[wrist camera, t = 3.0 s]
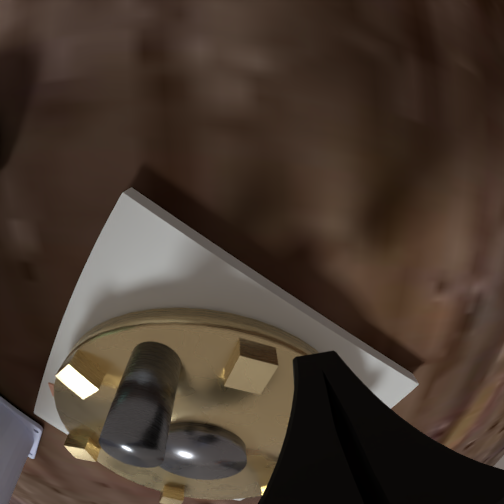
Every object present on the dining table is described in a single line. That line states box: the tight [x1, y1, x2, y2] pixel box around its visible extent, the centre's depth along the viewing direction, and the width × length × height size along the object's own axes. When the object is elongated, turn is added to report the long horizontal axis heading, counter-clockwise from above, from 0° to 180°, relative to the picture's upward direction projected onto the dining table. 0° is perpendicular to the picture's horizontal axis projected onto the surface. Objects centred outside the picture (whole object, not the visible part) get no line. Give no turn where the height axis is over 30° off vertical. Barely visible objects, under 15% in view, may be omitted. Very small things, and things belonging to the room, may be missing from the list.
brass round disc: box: [54, 308, 319, 504], centre depth 12 cm, size 16×16×6 cm
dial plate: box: [34, 187, 419, 501], centre depth 15 cm, size 18×18×1 cm
